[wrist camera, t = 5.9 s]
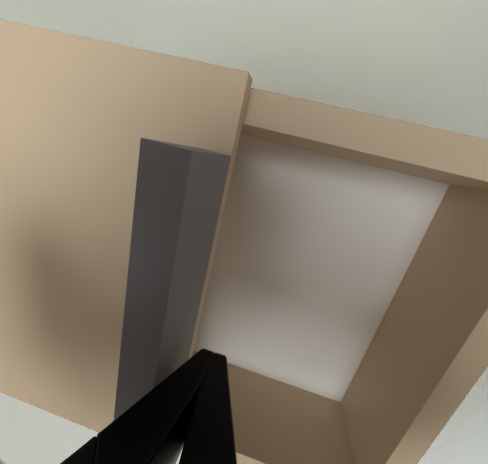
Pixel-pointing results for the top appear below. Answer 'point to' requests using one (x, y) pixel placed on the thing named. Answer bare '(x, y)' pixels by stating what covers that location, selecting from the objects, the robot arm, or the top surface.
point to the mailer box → (348, 283)
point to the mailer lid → (106, 215)
